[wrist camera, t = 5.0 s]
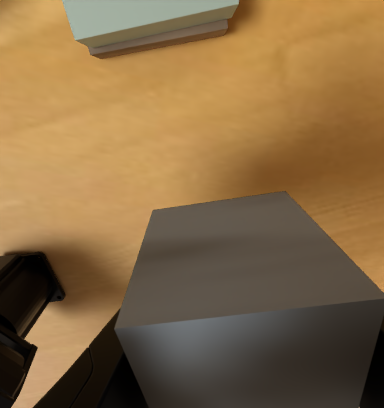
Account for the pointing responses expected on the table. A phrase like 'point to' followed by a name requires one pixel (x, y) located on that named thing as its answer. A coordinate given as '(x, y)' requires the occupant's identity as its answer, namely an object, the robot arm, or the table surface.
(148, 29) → the sage slab
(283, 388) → the grey cube
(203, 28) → the walnut slab
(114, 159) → the table surface
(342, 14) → the table surface
